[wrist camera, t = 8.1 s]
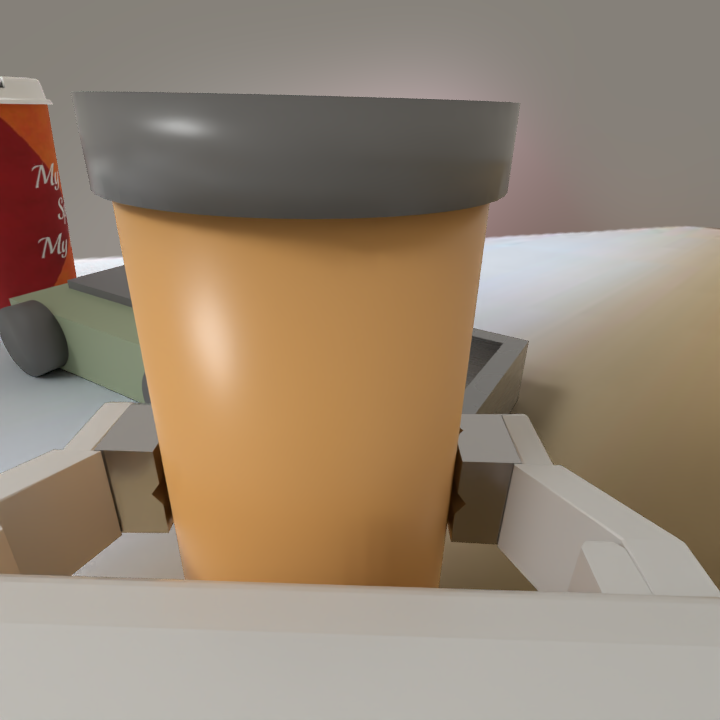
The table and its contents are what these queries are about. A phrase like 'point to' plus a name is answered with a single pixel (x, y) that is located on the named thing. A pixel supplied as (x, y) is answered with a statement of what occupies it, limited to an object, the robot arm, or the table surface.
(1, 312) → the toy wheeled cart
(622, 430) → the table surface
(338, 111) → the orange and grey cylinder
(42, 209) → the coffee cup
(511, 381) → the box
